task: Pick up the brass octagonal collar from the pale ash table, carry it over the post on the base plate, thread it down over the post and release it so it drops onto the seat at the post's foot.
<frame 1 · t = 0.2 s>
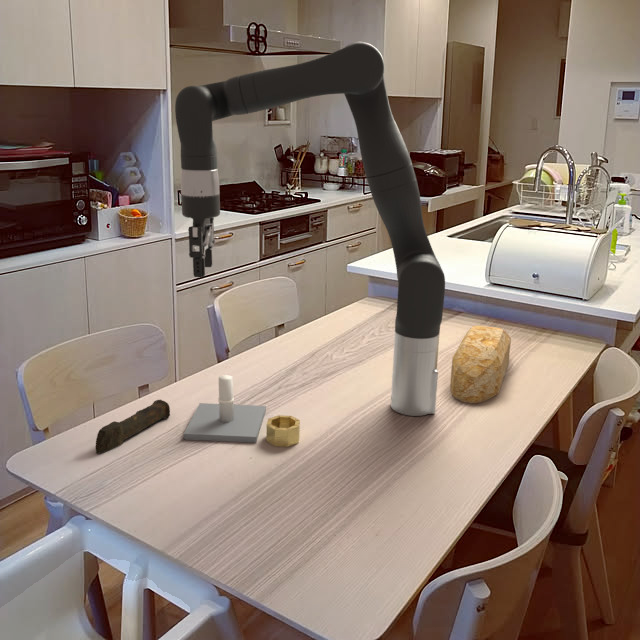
hand: (203, 271, 145), 29 cm above the table, fingers open, 8 cm apart
hand tool: (134, 436, 138), on the table
bread: (480, 375, 172), on the table
ring: (283, 438, 137), on the table
post base: (226, 424, 143), on the table
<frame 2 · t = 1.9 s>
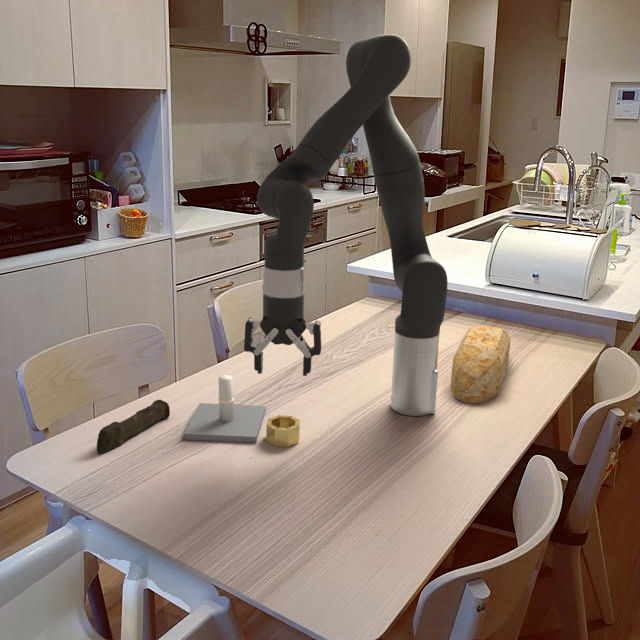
hand: (282, 373, 133), 14 cm above the table, fingers open, 8 cm apart
nothing on the table moved.
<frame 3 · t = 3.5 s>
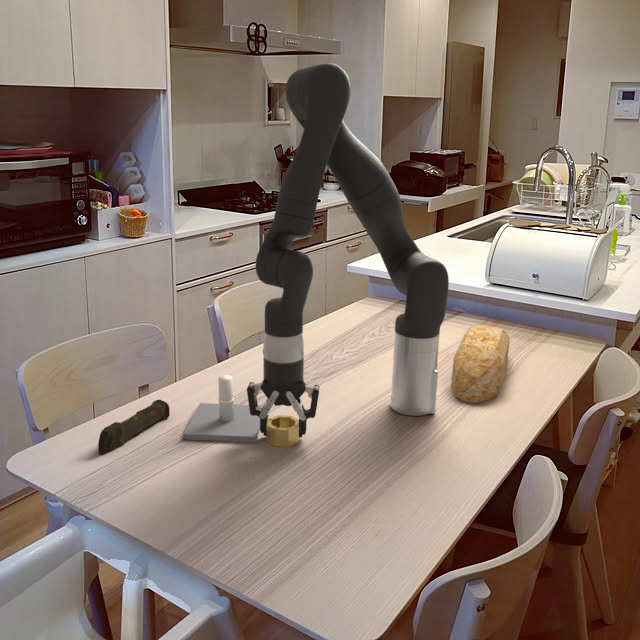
hand: (283, 434, 137), 1 cm above the table, fingers closed on ring, 6 cm apart
ring: (283, 438, 137), on the table, touching gripper
everything else where it was.
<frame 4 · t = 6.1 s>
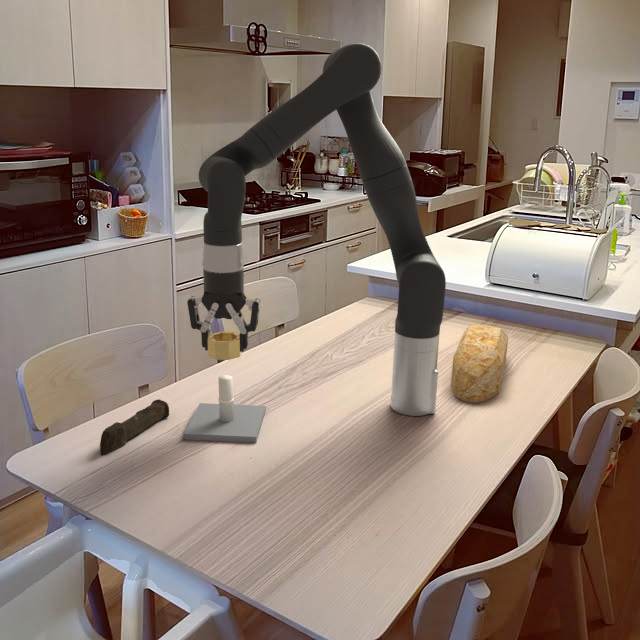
hand: (225, 349, 138), 16 cm above the table, fingers closed on ring, 6 cm apart
ring: (225, 353, 138), point 15 cm above the table, touching gripper
everything else where it was.
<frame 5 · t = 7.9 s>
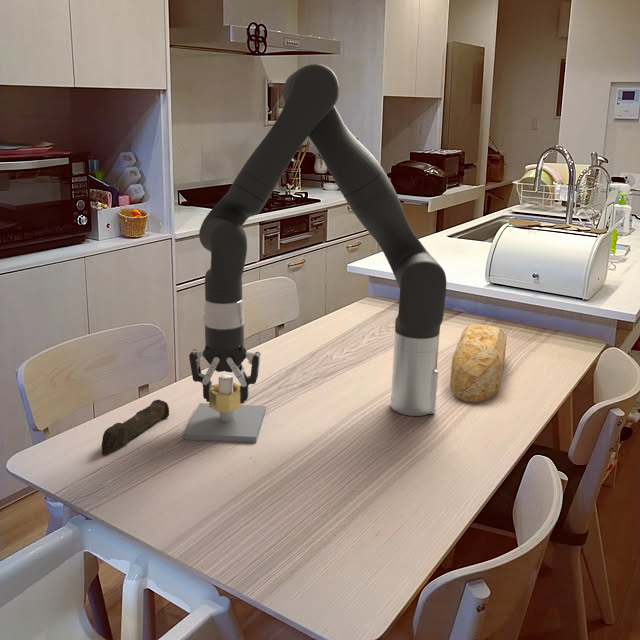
hand: (225, 400, 141), 5 cm above the table, fingers closed on ring, 6 cm apart
ring: (226, 405, 141), point 4 cm above the table, touching gripper
everything else where it was.
when the fingers open (5 cm above the table, at t = 9.0 s): ring drops 2 cm, resting on post base.
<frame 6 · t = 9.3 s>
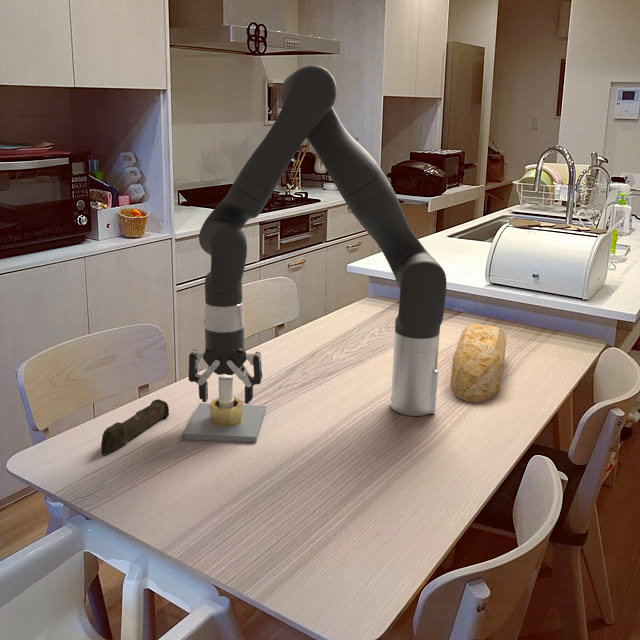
hand: (226, 401, 141), 5 cm above the table, fingers open, 8 cm apart
ring: (226, 419, 142), point 1 cm above the table, touching post base
everything else where it was.
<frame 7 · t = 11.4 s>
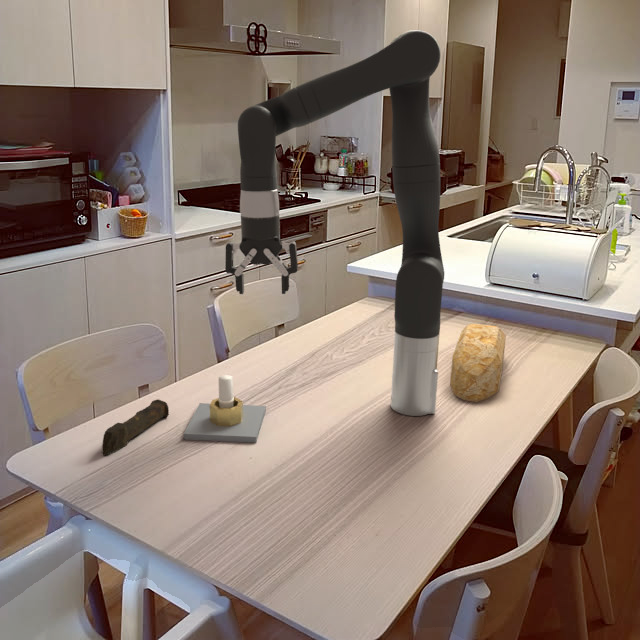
hand: (262, 293, 143), 25 cm above the table, fingers open, 8 cm apart
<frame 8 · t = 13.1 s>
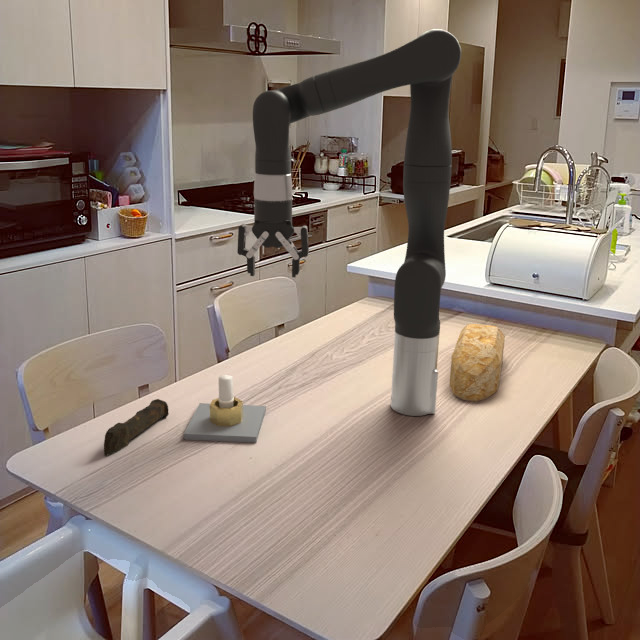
hand: (273, 275, 145), 28 cm above the table, fingers open, 8 cm apart
at the end: ring 0.0 cm from the post base (horizontally); ring point 1.2 cm above the table; the gripper is holding nothing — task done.
